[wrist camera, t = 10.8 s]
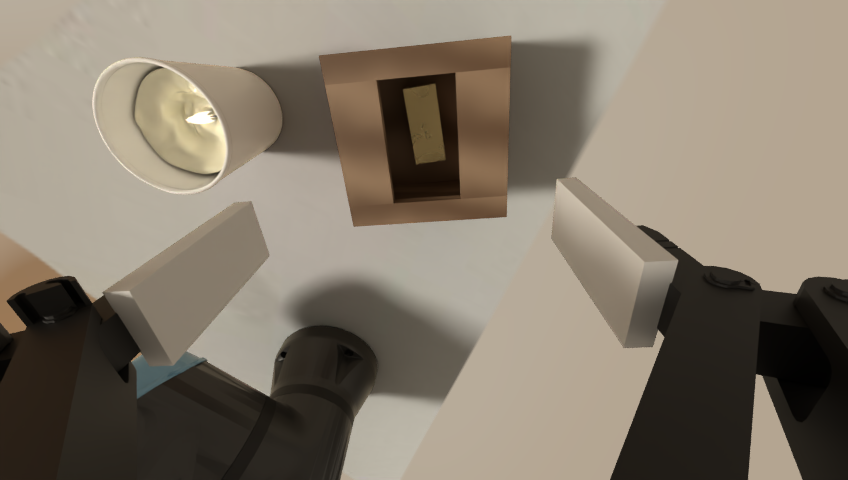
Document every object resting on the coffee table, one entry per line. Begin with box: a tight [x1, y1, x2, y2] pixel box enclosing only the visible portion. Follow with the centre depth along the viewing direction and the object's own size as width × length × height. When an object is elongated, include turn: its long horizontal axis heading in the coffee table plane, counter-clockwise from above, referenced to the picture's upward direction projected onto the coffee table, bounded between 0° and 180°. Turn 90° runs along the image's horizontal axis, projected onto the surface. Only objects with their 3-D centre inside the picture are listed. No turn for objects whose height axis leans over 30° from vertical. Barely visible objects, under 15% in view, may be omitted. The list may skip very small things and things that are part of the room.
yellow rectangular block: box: [403, 82, 446, 164], centre depth 34 cm, size 3×7×3 cm, turn 9°
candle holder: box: [93, 57, 282, 194], centre depth 30 cm, size 10×10×12 cm
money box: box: [319, 36, 511, 227], centre depth 32 cm, size 14×14×9 cm
